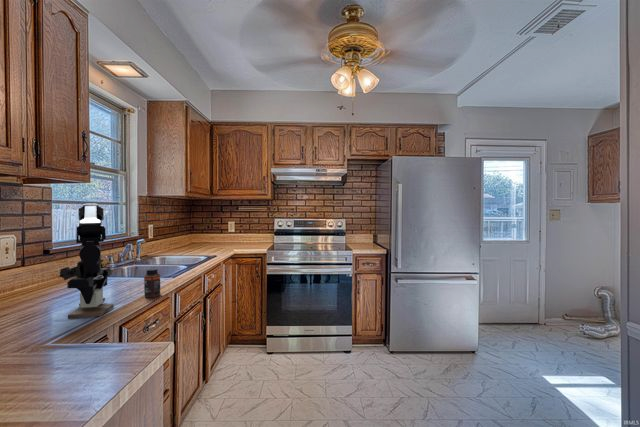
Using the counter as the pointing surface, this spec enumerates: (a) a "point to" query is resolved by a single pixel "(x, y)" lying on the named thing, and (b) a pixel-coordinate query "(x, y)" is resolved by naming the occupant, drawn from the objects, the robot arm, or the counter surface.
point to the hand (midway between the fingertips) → (91, 301)
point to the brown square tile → (91, 311)
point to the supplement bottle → (152, 283)
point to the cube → (93, 299)
